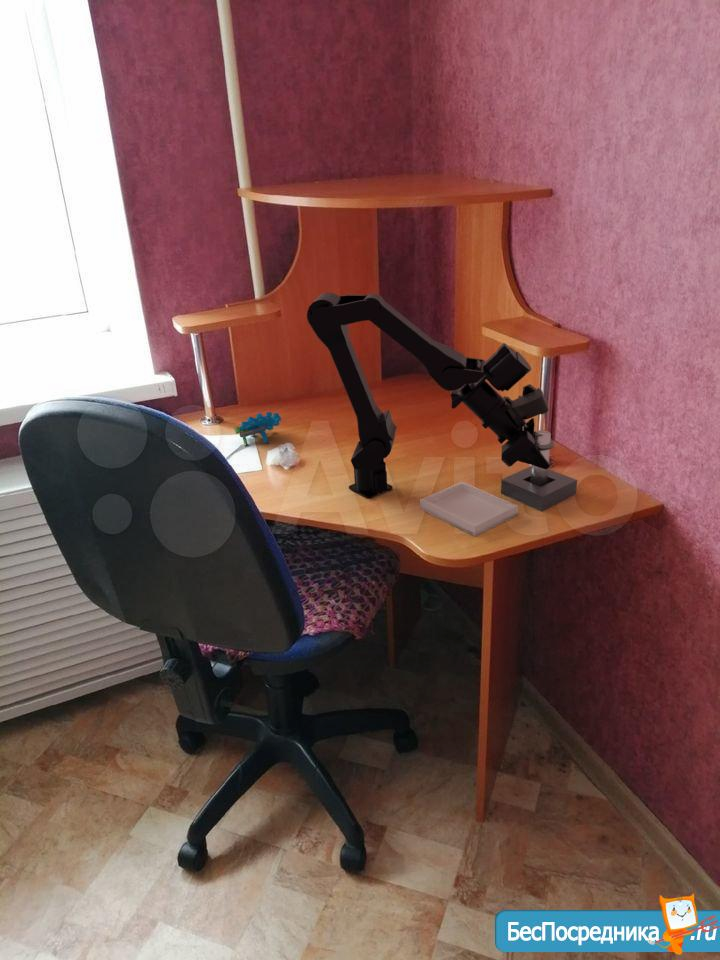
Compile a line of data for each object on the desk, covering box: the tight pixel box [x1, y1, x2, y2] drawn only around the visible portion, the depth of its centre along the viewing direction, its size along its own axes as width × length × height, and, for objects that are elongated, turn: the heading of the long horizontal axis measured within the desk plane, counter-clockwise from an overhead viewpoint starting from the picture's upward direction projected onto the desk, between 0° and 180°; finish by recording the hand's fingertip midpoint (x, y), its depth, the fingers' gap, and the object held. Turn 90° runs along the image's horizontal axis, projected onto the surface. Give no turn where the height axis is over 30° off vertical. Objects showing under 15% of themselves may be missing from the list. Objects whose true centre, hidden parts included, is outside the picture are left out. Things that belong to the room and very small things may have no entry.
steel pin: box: [530, 429, 554, 487], centre depth 142 cm, size 4×4×12 cm
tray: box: [419, 481, 518, 537], centre depth 139 cm, size 14×11×2 cm
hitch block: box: [500, 466, 578, 512], centre depth 144 cm, size 10×10×3 cm
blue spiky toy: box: [234, 411, 282, 445], centre depth 174 cm, size 11×6×10 cm
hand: (547, 462), depth 141 cm, fingers closed on steel pin, 4 cm apart
